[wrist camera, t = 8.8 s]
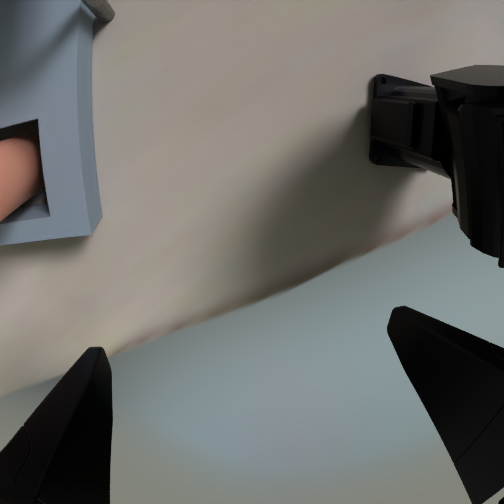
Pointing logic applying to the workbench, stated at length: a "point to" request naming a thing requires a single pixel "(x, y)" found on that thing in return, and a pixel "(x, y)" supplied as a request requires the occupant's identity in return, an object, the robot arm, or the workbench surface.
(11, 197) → the peg
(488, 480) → the robot arm
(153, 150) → the workbench surface
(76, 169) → the socket board
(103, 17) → the awning
